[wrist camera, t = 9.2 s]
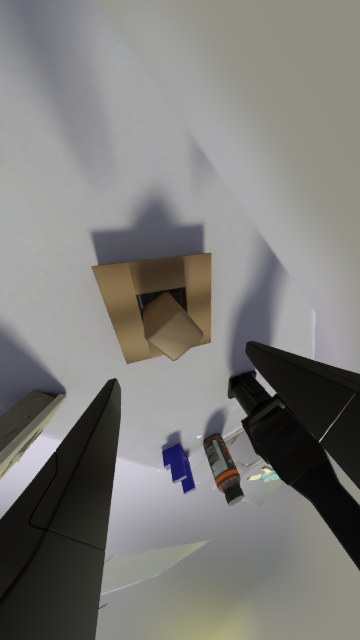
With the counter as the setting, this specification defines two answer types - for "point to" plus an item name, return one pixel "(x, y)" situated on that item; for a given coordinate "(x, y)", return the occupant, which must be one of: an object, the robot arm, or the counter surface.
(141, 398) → the counter surface
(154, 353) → the socket collar
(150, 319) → the wooden block
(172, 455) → the cable clip
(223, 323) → the counter surface
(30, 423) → the electrical switch
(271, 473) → the rubber gloves
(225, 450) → the supplement bottle
